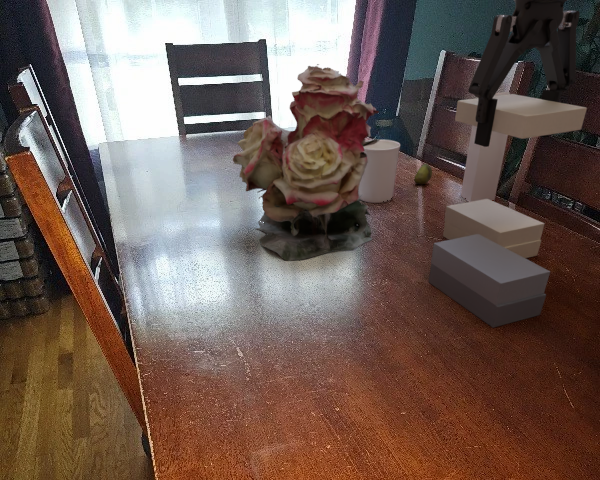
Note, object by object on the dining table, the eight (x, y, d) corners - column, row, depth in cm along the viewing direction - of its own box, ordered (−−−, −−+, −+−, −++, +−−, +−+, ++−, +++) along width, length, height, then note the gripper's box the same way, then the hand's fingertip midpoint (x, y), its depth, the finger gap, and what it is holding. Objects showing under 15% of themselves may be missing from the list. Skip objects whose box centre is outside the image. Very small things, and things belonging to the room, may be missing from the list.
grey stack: (540, 314, 79) (553, 272, 74) (492, 327, 76) (503, 284, 72) (470, 272, 91) (478, 233, 87) (428, 282, 89) (433, 243, 84)
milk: (460, 196, 124) (476, 91, 110) (484, 194, 125) (503, 89, 111) (470, 203, 119) (489, 95, 106) (494, 201, 120) (516, 93, 106)
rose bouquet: (236, 222, 114) (219, 62, 95) (361, 209, 118) (368, 54, 100) (251, 269, 95) (233, 80, 76) (400, 252, 99) (419, 69, 80)
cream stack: (537, 255, 96) (546, 223, 92) (494, 265, 93) (501, 233, 89) (481, 227, 108) (487, 198, 104) (441, 235, 105) (446, 206, 101)
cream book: (581, 129, 78) (587, 107, 76) (522, 139, 75) (527, 116, 73) (508, 113, 90) (512, 93, 88) (454, 120, 86) (457, 100, 84)
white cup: (391, 205, 120) (396, 150, 112) (351, 202, 123) (353, 148, 115) (399, 193, 127) (403, 140, 120) (360, 190, 130) (362, 138, 122)
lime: (413, 186, 131) (416, 166, 128) (412, 181, 134) (415, 161, 131) (431, 187, 130) (434, 166, 127) (430, 181, 134) (432, 161, 131)
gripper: (590, -35, 76) (550, 127, 90) (459, -31, 69) (437, 144, 83) (634, -37, 71) (584, 135, 84) (496, -33, 64) (466, 154, 77)
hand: (511, 140), depth 84 cm, fingers closed on cream book, 11 cm apart
